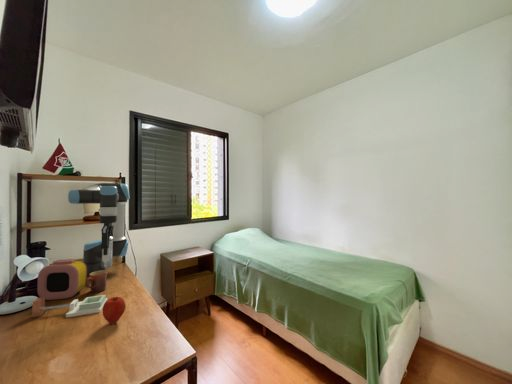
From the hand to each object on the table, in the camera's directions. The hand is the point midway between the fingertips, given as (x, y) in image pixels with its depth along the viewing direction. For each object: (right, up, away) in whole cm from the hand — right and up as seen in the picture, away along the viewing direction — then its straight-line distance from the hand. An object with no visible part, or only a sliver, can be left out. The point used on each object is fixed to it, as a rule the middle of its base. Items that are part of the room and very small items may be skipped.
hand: (107, 259), depth 112 cm
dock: (-4, -22, -7) cm, 23 cm away
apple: (+16, -22, -19) cm, 33 cm away
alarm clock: (-29, -22, +6) cm, 37 cm away
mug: (-15, -22, +12) cm, 29 cm away
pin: (-16, -21, -11) cm, 29 cm away
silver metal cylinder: (0, -3, 0) cm, 3 cm away
